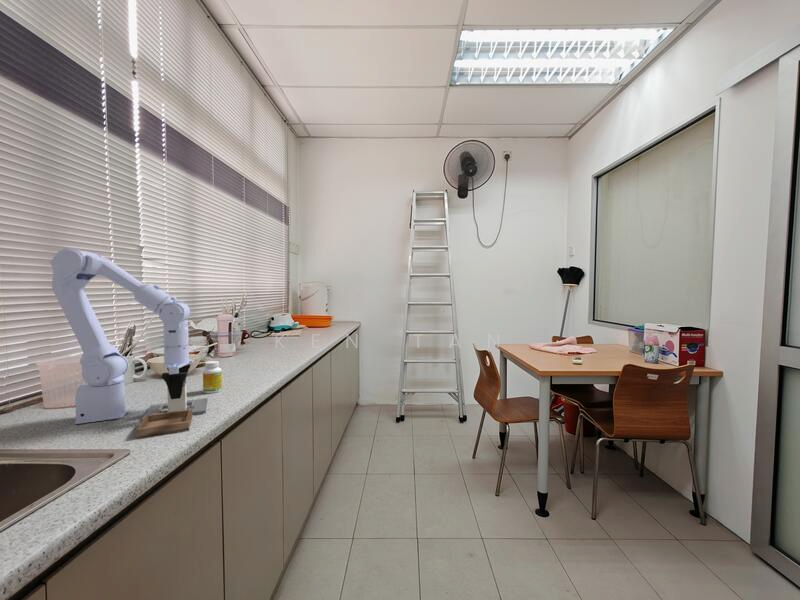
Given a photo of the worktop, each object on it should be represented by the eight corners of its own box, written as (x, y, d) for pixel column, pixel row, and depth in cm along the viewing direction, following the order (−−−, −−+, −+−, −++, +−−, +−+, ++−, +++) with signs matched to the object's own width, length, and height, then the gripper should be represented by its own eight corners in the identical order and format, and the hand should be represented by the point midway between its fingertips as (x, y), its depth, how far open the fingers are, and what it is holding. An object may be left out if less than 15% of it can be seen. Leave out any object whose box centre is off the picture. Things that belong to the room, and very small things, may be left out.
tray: (136, 438, 77) (136, 429, 77) (145, 423, 86) (145, 415, 86) (188, 430, 81) (188, 421, 81) (192, 416, 90) (192, 408, 90)
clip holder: (141, 422, 86) (141, 416, 86) (151, 407, 97) (150, 402, 97) (205, 413, 92) (205, 407, 92) (207, 400, 103) (207, 395, 103)
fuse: (167, 414, 92) (167, 384, 92) (170, 409, 96) (169, 381, 95) (185, 411, 94) (184, 382, 94) (186, 407, 97) (186, 379, 97)
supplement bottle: (216, 393, 110) (215, 363, 110) (199, 393, 110) (199, 363, 110) (224, 388, 116) (224, 360, 115) (209, 388, 116) (208, 360, 115)
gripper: (191, 348, 90) (192, 399, 90) (195, 341, 102) (196, 386, 103) (158, 350, 86) (159, 403, 87) (167, 342, 99) (168, 389, 100)
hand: (177, 394), depth 95 cm, fingers open, 7 cm apart
